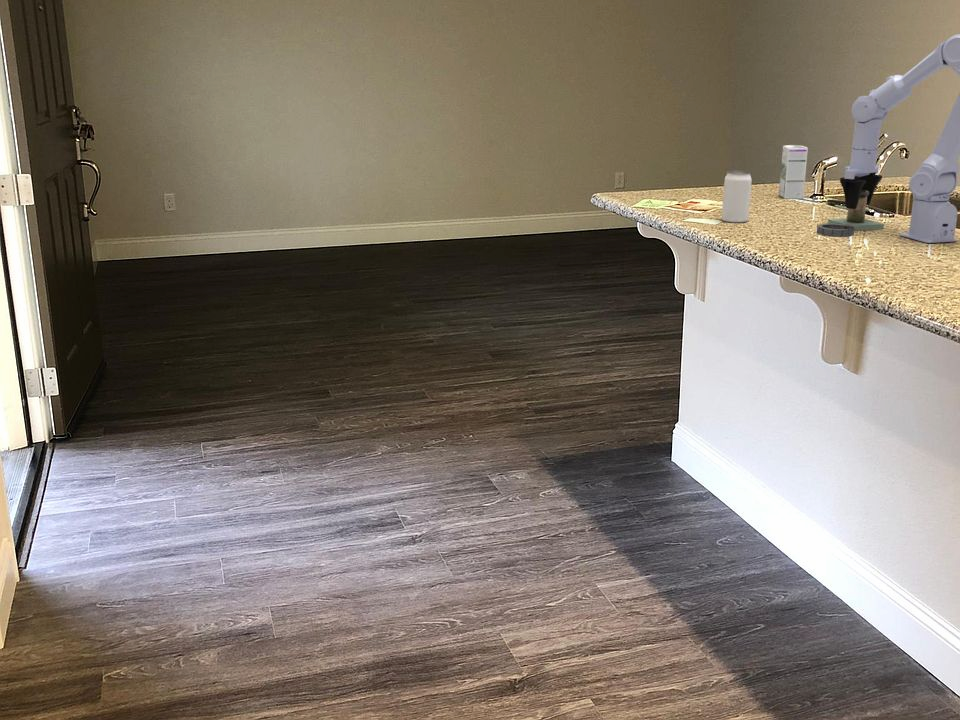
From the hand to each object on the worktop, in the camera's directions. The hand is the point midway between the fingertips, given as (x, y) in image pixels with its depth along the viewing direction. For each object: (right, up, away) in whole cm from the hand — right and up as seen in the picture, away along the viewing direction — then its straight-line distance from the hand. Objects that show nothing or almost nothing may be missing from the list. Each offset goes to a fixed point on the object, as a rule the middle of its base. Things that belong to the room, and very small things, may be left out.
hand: (857, 206), depth 234 cm
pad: (0, -5, +1) cm, 5 cm away
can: (-27, -2, +9) cm, 29 cm away
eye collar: (-8, -7, -7) cm, 13 cm away
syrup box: (-2, +9, +45) cm, 46 cm away
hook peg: (0, -3, +1) cm, 4 cm away
